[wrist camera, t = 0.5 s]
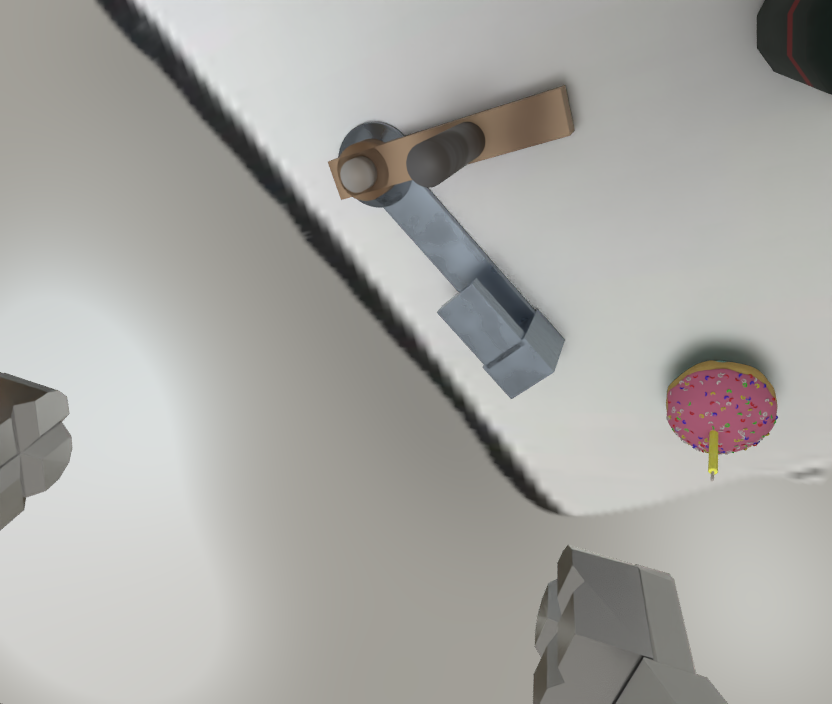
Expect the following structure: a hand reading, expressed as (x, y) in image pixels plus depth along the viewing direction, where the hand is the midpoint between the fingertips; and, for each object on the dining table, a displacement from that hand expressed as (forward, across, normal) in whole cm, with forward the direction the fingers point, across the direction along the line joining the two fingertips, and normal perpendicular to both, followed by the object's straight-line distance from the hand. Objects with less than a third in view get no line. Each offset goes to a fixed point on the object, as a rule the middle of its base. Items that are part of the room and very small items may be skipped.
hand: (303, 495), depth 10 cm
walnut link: (+48, +5, +2) cm, 48 cm away
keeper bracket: (+49, +3, +11) cm, 50 cm away
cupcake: (+46, -24, +16) cm, 54 cm away
